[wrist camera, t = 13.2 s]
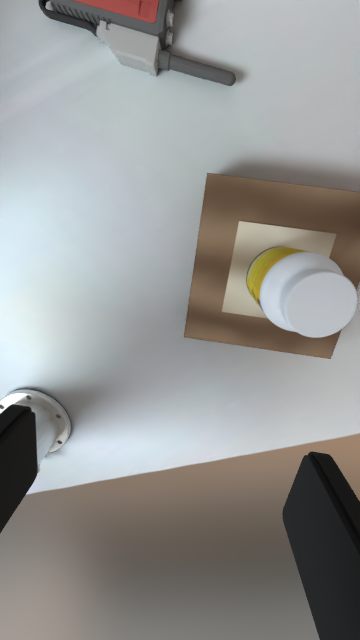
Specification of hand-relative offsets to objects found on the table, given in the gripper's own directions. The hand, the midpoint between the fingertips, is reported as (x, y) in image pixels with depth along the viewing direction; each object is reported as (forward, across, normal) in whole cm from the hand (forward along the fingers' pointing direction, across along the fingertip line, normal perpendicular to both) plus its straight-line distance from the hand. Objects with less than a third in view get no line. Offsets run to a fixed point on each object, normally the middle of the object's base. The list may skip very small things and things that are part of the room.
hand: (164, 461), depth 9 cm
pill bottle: (+22, -9, -5) cm, 24 cm away
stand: (+26, -9, -5) cm, 28 cm away
